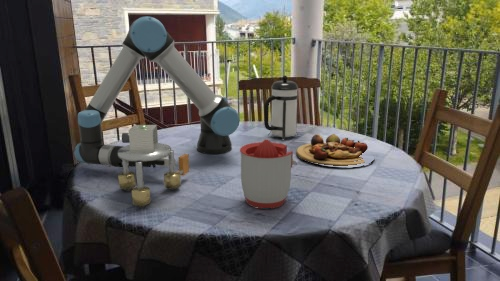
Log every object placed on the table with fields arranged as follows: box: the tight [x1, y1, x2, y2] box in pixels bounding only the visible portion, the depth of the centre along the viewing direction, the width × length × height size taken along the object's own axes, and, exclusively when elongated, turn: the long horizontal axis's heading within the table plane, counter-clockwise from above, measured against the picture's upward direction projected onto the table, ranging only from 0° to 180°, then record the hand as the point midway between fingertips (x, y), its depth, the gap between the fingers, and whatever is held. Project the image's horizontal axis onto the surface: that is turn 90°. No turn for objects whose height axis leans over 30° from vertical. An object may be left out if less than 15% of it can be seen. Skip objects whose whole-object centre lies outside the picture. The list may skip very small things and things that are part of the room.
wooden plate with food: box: [295, 133, 369, 166], centre depth 167 cm, size 32×32×8 cm
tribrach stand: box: [117, 124, 172, 209], centre depth 124 cm, size 18×19×23 cm
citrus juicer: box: [239, 139, 298, 209], centre depth 121 cm, size 16×17×20 cm
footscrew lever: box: [163, 149, 190, 190], centre depth 134 cm, size 13×5×13 cm, turn 162°
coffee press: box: [263, 75, 299, 140], centre depth 192 cm, size 17×16×30 cm
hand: (174, 162), depth 138 cm, fingers closed
